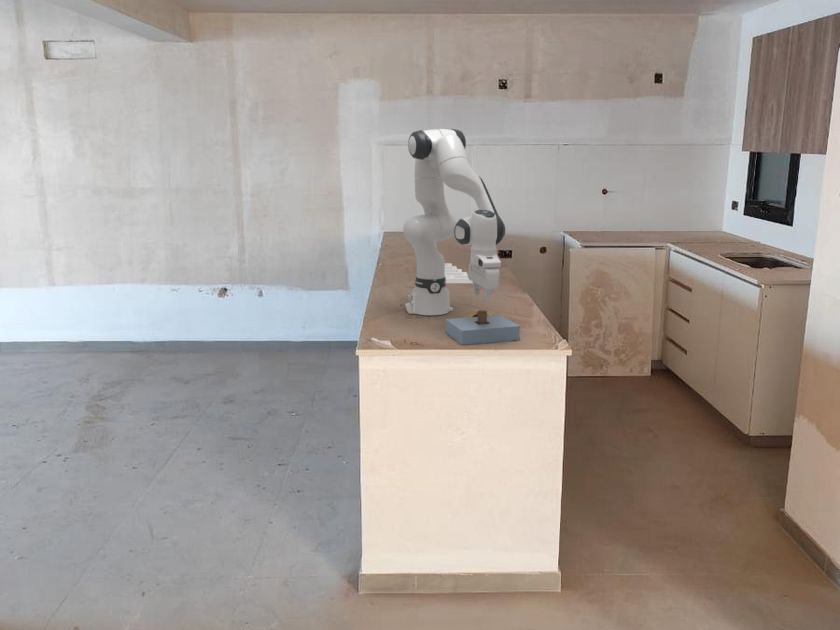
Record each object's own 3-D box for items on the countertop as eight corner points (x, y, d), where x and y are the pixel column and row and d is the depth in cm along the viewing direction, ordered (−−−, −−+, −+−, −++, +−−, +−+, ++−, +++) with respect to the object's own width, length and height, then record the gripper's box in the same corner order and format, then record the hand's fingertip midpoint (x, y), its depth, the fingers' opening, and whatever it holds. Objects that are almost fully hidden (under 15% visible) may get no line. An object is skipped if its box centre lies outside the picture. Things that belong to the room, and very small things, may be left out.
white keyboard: (434, 268, 398) (434, 263, 398) (468, 268, 398) (468, 263, 397) (435, 284, 354) (435, 278, 354) (473, 284, 354) (473, 278, 354)
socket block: (445, 332, 264) (445, 319, 263) (500, 328, 270) (500, 315, 268) (461, 345, 248) (462, 330, 247) (519, 340, 254) (519, 326, 253)
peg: (476, 335, 260) (476, 310, 258) (484, 334, 261) (484, 310, 259) (479, 337, 257) (479, 312, 255) (487, 337, 258) (488, 312, 256)
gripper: (464, 253, 261) (463, 291, 265) (485, 263, 242) (483, 304, 246) (480, 252, 263) (479, 290, 266) (503, 263, 244) (501, 303, 247)
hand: (481, 297), depth 256 cm, fingers open, 8 cm apart
